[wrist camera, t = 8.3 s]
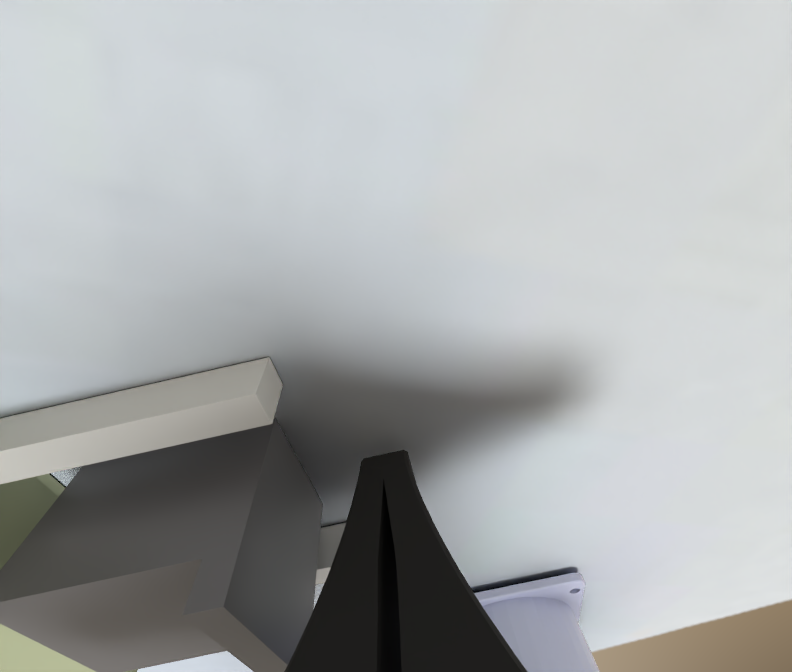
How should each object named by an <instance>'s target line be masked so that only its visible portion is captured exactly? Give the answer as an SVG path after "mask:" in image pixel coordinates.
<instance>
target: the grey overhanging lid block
mask: <svg viewBox="0 0 792 672" xmlns="http://www.w3.org/2000/svg"><path fill="white" fill-rule="evenodd" d="M322 506H323V504H322V502H321V500H320V498H319V496H318V495H317V493H316V491H315V489H314V487H313V485H312V484H311V482H310V480H309V478H308V476H307V474H306V473H305V471H304V469H303V467H302V465H301V464H300V462H299V460H298V458H297V456H296V454H295V453H294V451H293V449H292V447H291V445H290V444H289V442H288V440H287V438H286V436H285V434H284V433H283V431H282V429H281V427H280V425H279V423H278V422H277V420H276V418H274V419H273V423H272V424H269V425H265V426H260V427H256V428H251V429H247V430H242V431H238V432H233V433H229V434H224V435H220V436H215V437H211V438H206V439H202V440H197V441H193V442H188V443H184V444H179V445H175V446H170V447H166V448H161V449H157V450H152V451H148V452H143V453H139V454H134V455H130V456H125V457H121V458H116V459H112V460H107V461H103V462H98V463H94V464H89V465H85V466H83V467H82V468H81V469H80V471H79V472H78V473H77V474H76V476H75V477H74V478H73V479H72V481H71V482H70V483H69V484H68V486H67V487H66V488H65V489H64V491H63V492H62V493H61V494H60V496H59V497H58V498H57V499H56V501H55V502H54V503H53V505H52V506H51V507H50V508H49V510H48V511H47V512H46V513H45V515H44V516H43V517H42V518H41V520H40V521H39V522H38V523H37V525H36V526H35V527H34V528H33V530H32V531H31V532H30V533H29V535H28V536H27V537H26V538H25V540H24V541H23V542H22V544H21V545H20V546H19V547H18V549H17V550H16V551H15V552H14V554H13V555H12V556H11V557H10V559H9V560H8V561H7V562H6V564H5V565H4V566H3V567H2V569H1V570H0V624H2V625H4V626H6V627H8V628H10V629H12V630H14V631H16V632H18V633H20V634H22V635H24V636H26V637H28V638H30V639H32V640H34V641H36V642H38V643H40V644H42V645H44V646H46V647H48V648H50V649H52V650H54V651H56V652H58V653H60V654H62V655H64V656H66V657H68V658H70V659H72V660H74V661H76V662H78V663H80V664H82V665H84V666H86V667H88V668H90V669H92V670H94V671H96V672H126V671H131V670H135V669H140V668H145V667H150V666H155V665H160V664H165V663H169V662H174V661H179V660H184V659H189V658H194V657H199V656H203V655H208V654H213V653H218V652H223V651H228V652H230V653H231V654H232V655H233V656H235V657H236V658H237V659H239V660H240V661H241V662H242V663H244V664H245V665H246V666H248V667H249V668H250V669H251V670H253V671H254V672H284V671H285V669H286V667H287V665H288V664H289V661H290V659H291V657H292V655H293V653H294V651H295V649H296V647H297V645H298V643H299V641H300V639H301V636H302V634H303V632H304V630H305V628H306V626H307V623H308V621H309V619H310V617H311V615H312V612H313V605H314V594H315V583H316V572H317V561H318V550H319V539H320V528H321V517H322Z"/></svg>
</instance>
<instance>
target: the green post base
mask: <svg viewBox="0 0 792 672" xmlns="http://www.w3.org/2000/svg"><path fill="white" fill-rule="evenodd" d="M282 388H283V384H282V382H281V380H280V378H279V376H278V374H277V372H276V370H275V368H274V366H273V364H272V362H271V359H270V357H268V358H263V359H259V360H254V361H250V362H246V363H241V364H237V365H232V366H228V367H224V368H219V369H215V370H211V371H206V372H202V373H197V374H193V375H189V376H184V377H180V378H175V379H171V380H167V381H162V382H158V383H154V384H149V385H145V386H140V387H136V388H132V389H127V390H123V391H118V392H114V393H110V394H105V395H101V396H97V397H92V398H88V399H83V400H79V401H75V402H70V403H66V404H61V405H57V406H53V407H48V408H44V409H40V410H35V411H31V412H26V413H22V414H18V415H13V416H9V417H4V418H0V570H1V569H2V567H3V566H4V565H5V564H6V562H7V561H8V560H9V559H10V557H11V556H12V555H13V554H14V552H15V551H16V550H17V549H18V547H19V546H20V545H21V544H22V542H23V541H24V540H25V538H26V537H27V536H28V535H29V533H30V532H31V531H32V530H33V528H34V527H35V526H36V525H37V523H38V522H39V521H40V520H41V518H42V517H43V516H44V515H45V513H46V512H47V511H48V510H49V508H50V507H51V506H52V505H53V503H54V502H55V501H56V499H57V498H58V497H59V496H60V494H61V493H62V492H63V491H64V489H65V487H63V486H62V485H61V484H60V483H59V482H58V481H57V480H55V479H54V478H53V477H52V476H51V475H50V474H49V473H53V472H58V471H62V470H67V469H71V468H76V467H80V466H85V465H89V464H94V463H98V462H103V461H107V460H112V459H116V458H121V457H125V456H130V455H134V454H139V453H143V452H148V451H152V450H157V449H161V448H166V447H170V446H175V445H179V444H184V443H188V442H193V441H197V440H202V439H206V438H211V437H215V436H220V435H224V434H229V433H233V432H238V431H242V430H247V429H251V428H256V427H260V426H265V425H269V424H272V423H273V419H274V416H275V412H276V409H277V405H278V402H279V398H280V395H281V391H282ZM345 525H346V523H342V524H337V525H332V526H328V527H323V528H320V539H319V550H318V561H317V572H316V583H315V585H318V584H323V583H325V581H326V579H327V576H328V574H329V571H330V568H331V566H332V563H333V560H334V557H335V554H336V552H337V549H338V546H339V543H340V540H341V537H342V534H343V531H344V528H345ZM137 670H138V669H135V670H131V671H126V672H137ZM0 672H96V671H94V670H92V669H90V668H88V667H86V666H84V665H82V664H80V663H78V662H76V661H74V660H72V659H70V658H68V657H66V656H64V655H62V654H60V653H58V652H56V651H54V650H52V649H50V648H48V647H46V646H44V645H42V644H40V643H38V642H36V641H34V640H32V639H30V638H28V637H26V636H24V635H22V634H20V633H18V632H16V631H14V630H12V629H10V628H8V627H6V626H4V625H2V624H0Z"/></svg>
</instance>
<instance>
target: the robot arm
mask: <svg viewBox="0 0 792 672" xmlns="http://www.w3.org/2000/svg"><path fill="white" fill-rule="evenodd" d="M584 587H585V581H584V579H583V577H582V575H581V574H579V573H569V574H565V575H560V576H555V577H550V578H545V579H540V580H535V581H530V582H526V583H521V584H516V585H511V586H506V587H501V588H496V589H491V590H486V591H482V592H477V593H473V591H472V589H471V588H470V586H469V585H468V583H467V581H466V580H465V578H464V576H463V575H462V573H461V571H460V570H459V568H458V566H457V565H456V563H455V561H454V560H453V558H452V556H451V554H450V553H449V551H448V549H447V547H446V545H445V543H444V542H443V540H442V538H441V536H440V534H439V532H438V530H437V528H436V527H435V525H434V523H433V521H432V518H431V516H430V514H429V512H428V510H427V508H426V506H425V504H424V502H423V499H422V497H421V495H420V492H419V490H418V487H417V485H416V481H415V477H414V474H413V470H412V467H411V463H410V459H409V456H408V452H406V451H404V450H402V451H397V452H392V453H388V454H383V455H378V456H374V457H369V458H364V459H363V460H362V461H361V466H360V471H359V476H358V481H357V485H356V489H355V493H354V497H353V501H352V505H351V508H350V511H349V515H348V518H347V521H346V525H345V528H344V531H343V534H342V537H341V540H340V543H339V546H338V549H337V552H336V554H335V557H334V560H333V563H332V566H331V568H330V571H329V574H328V576H327V579H326V581H325V584H324V586H323V589H322V591H321V594H320V596H319V598H318V601H317V603H316V605H315V608H314V610H313V612H312V615H311V617H310V619H309V621H308V623H307V626H306V628H305V630H304V632H303V634H302V636H301V639H300V641H299V643H298V645H297V647H296V649H295V651H294V653H293V655H292V657H291V659H290V661H289V664H288V665H287V667H286V669H285V671H284V672H600V671H599V669H598V667H597V664H596V662H595V660H594V658H593V655H592V653H591V651H590V649H589V646H588V644H587V642H586V639H585V637H584V635H583V633H582V630H581V628H580V626H579V624H578V623H579V617H580V611H581V605H582V599H583V593H584Z"/></svg>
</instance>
